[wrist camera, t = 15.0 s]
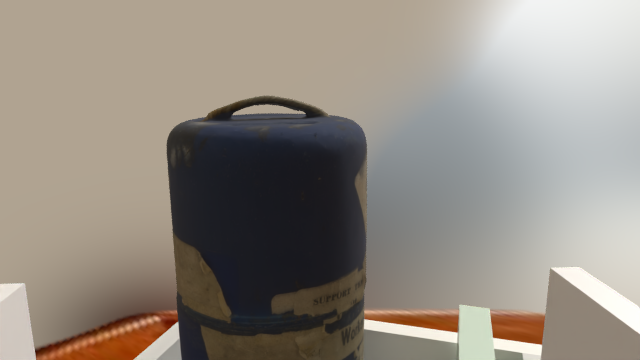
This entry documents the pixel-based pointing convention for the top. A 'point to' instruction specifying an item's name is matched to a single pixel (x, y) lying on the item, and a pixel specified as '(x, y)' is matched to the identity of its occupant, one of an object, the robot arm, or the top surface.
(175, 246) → the dark blue canister
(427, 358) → the white tray
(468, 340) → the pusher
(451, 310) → the top surface
